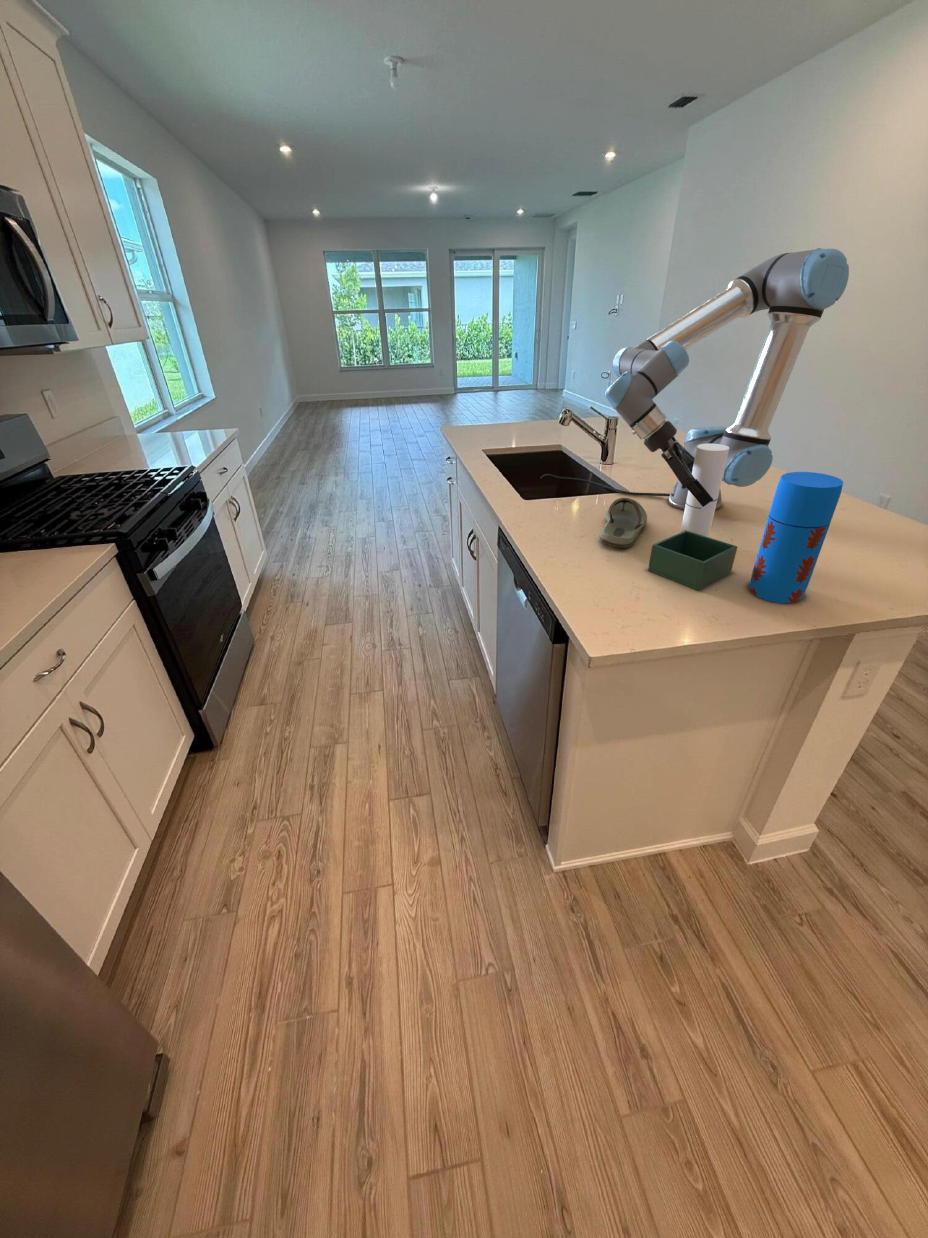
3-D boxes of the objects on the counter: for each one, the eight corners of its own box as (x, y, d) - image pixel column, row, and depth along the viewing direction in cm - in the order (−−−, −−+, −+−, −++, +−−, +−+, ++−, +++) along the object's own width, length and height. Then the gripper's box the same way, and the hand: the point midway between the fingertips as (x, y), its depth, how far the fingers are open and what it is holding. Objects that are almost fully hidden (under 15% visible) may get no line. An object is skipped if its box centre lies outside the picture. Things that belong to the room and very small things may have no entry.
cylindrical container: (709, 548, 132) (732, 450, 118) (680, 547, 133) (700, 450, 120) (704, 538, 137) (725, 443, 124) (676, 537, 139) (694, 443, 126)
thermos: (738, 582, 116) (768, 473, 103) (783, 578, 116) (818, 469, 103) (766, 605, 107) (803, 489, 94) (815, 601, 107) (858, 485, 94)
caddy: (647, 570, 123) (652, 544, 119) (680, 554, 129) (685, 529, 126) (698, 590, 114) (704, 563, 110) (730, 572, 120) (737, 546, 116)
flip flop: (610, 511, 158) (613, 484, 153) (650, 515, 153) (654, 488, 149) (588, 547, 136) (591, 517, 131) (634, 553, 131) (638, 523, 127)
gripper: (646, 430, 137) (695, 488, 140) (636, 453, 117) (693, 520, 120) (670, 409, 132) (720, 470, 135) (664, 430, 113) (723, 500, 116)
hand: (708, 494), depth 128 cm, fingers open, 13 cm apart
